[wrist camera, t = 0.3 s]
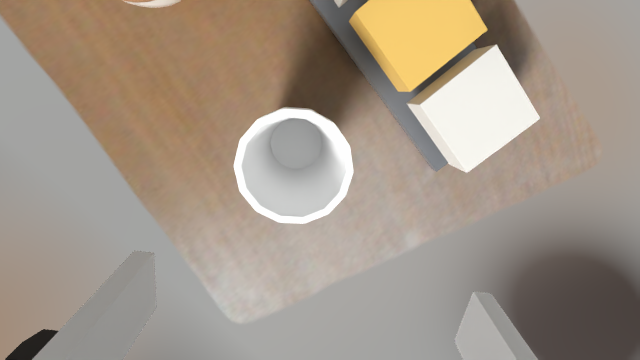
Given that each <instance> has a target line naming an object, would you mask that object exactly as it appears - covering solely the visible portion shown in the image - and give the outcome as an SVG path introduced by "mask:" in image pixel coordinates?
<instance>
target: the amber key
mask: <svg viewBox="0 0 640 360" xmlns="http://www.w3.org/2000/svg"><path fill="white" fill-rule="evenodd" d="M349 23H350V24H351V26H352V27H353V28H354V30H355V31H356V33H357V34H358V36H359V37H360V38H361V40H362V41H363V43H364V44H365V45H366V47H367V48H368V50H369V51H370V53H371V54H372V55H373V57H374V58H375V60H376V61H377V62H378V64H379V65H380V67H381V68H382V70H383V71H384V72H385V74H386V75H387V77H388V78H389V79H390V81H391V82H392V84H393V85H394V87H395V88H396V89H397V91H398V92H411V91H412V90H413V89H414V88H416V87H417V86H418V85H419V84H421V83H422V82H423V81H424V80H426V79H427V78H428V77H429V76H431V75H432V74H433V73H434V72H436V71H437V70H438V69H439V68H441V67H442V66H443V65H444V64H446V63H447V62H448V61H449V60H451V59H452V58H453V57H454V56H456V55H457V54H458V53H459V52H461V51H462V50H463V49H464V48H466V47H467V46H468V45H469V44H471V43H472V42H473V41H474V40H476V39H477V38H478V37H479V36H481V35H482V34H483V33H484V32H486V31H487V30H488V29H487V28H486V26H485V24H484V23H483V21H482V19H481V17H480V16H479V14H478V12H477V11H476V9H475V7H474V6H473V4H472V2H471V1H470V0H369V1H368V2H366V3H365V4H364V5H363V6H362V7H361V8H359V9H358V10H357V11H356V12H355V13H354V14H353V16H352V17H351V19H350V20H349Z"/></svg>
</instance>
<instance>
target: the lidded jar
mask: <svg viewBox="0 0 640 360" xmlns="http://www.w3.org/2000/svg"><path fill="white" fill-rule="evenodd" d="M123 1H125V2H128V3H131V4H134V5H138V6H142V7H151V8H154V7H166V6H170V5H173V4H175V3H178V2H179V1H181V0H123Z"/></svg>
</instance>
